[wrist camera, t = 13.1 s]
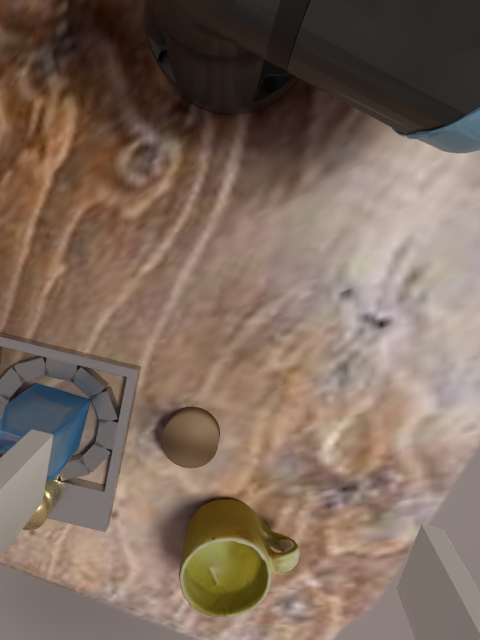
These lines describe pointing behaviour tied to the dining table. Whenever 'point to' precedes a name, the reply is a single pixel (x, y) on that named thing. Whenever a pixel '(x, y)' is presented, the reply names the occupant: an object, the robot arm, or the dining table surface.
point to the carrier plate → (83, 496)
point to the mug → (231, 559)
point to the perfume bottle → (46, 422)
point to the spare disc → (190, 437)
